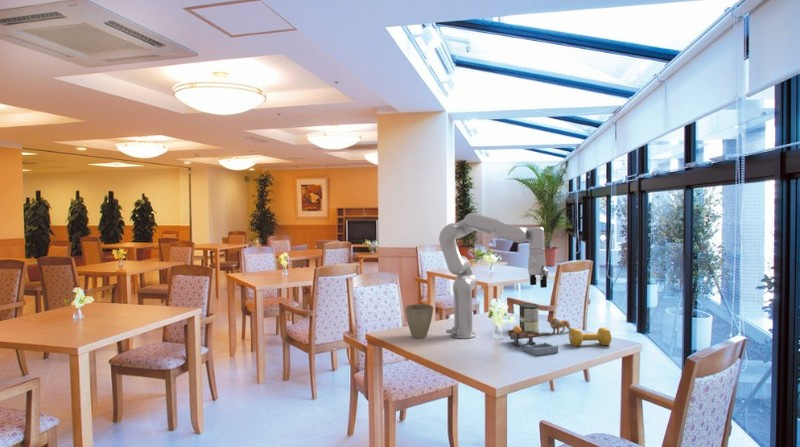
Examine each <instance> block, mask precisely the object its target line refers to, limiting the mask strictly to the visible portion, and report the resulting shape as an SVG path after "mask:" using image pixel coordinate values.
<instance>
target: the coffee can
mask: <svg viewBox="0 0 800 447" xmlns="http://www.w3.org/2000/svg"><path fill="white" fill-rule="evenodd" d="M539 306H540V305H539V304H537V303H530V302H529V303H527V302H526V303H525V302H524V303H520V304H519V327H520V328H521V331H531V332H539Z"/></svg>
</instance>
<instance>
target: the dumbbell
mask: <svg viewBox="0 0 800 447" xmlns="http://www.w3.org/2000/svg"><path fill="white" fill-rule="evenodd" d="M570 328H571V329H570V332H569V331H568V333H569V334H568V339H569V342H570V344H571V346H573V347H580V346H581V345H582V342H584V341H586V342H587V341H588V342H589V341H598V343H599V344H600V345H601V344H602V346H604V345H608V346H610V344H611V343H612V334H611V330H610V329H608V328H607V327H599V328H598V330H597V332H595V333H594V332H593V333H592V332H589V333H588V332H587V333H582V331H581V330H580V329H579V328H576V327H575V328H574V327H570Z"/></svg>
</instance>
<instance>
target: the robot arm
mask: <svg viewBox="0 0 800 447" xmlns="http://www.w3.org/2000/svg"><path fill="white" fill-rule="evenodd" d="M473 232H479V233H483V234H486V235H490V236H493V237H497V238H498V239H503V240H506V241H510V242H512V243H513V242H514V243H523V242H528V252H529V253H528V260H527V262H528V268H527V270H528V274H529V276H528V277H529V285H530V286H536V285H537V276H539V278H540V279H539V281H540V282H539V283H540V285H539V286H540V288H541V289H543V288H545V289H546V288H548V287H547V286H548V282H547V280H548V274H549V270H548V269H547V262H546V261H547V260H546V249H545V248H546V247H545V245H546V244H545V243H546V242H545V229H544V227H542V226H532V227H531V226H530V227H529V226H528V227H525V226H514V225H511V224H507V223H504V222H502V221H500V220H498V219H496V218H493V217H489V216H486V215H481V214H480V213H478V212H477V213H476V212H471V213H470V212H469V213H468V214H466V215H465V217H464V218H463V219H462V220H459V221H457V222H453V223H448V224H446V225H445V226H444V227H443V228H442V229H441V231H440V233H439V236H438V240H439V246H440V248H441V252H442V254H443V258H444V260H445V263H446V266H447V268H448V271H449V273H451V274H452V275H455V276H456V279H454V280H453V283H452V291H453V305H454V306H453V308H454V310H453V311H454V313H453V317H454V319H453V320H454V322H453V324H454V326H452V328H451V329H446V330H445V332H446V334H450V335H451V336H452V337H453V338H457V339H472V338H475V337H476V333H475V332H473V297H472V296H473V295H472V291H473V290H474V289H475V288H476V286H477V279H476V276H475V273H474V271H473V268H472V266H471V262H470V260H469V259H468V258H467V257H466V256H464V255H462V254H461V253H460V250H459V247H458V245H457V243H456V240H457V239H462V238H463V237H465V236H467V235H469V234H471V233H473Z"/></svg>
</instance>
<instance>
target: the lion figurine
mask: <svg viewBox="0 0 800 447" xmlns="http://www.w3.org/2000/svg"><path fill="white" fill-rule="evenodd" d="M549 325H550V327H551V329H552V334H555V333H556V335H560V333H563V332H565V330H566V329H567V330H568V333H569V332H570V329H571V328H572V327H570V323H569V321H568V320H566V319H564V320H563V319H562V320H560V321H559V320H558V319H557V318H556V317H552V318H551V319H550V320H549ZM560 329H562V330H560Z"/></svg>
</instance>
